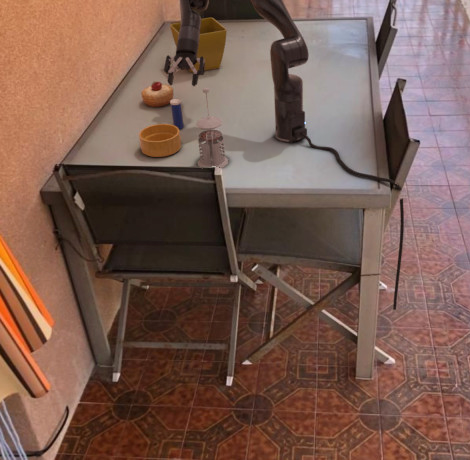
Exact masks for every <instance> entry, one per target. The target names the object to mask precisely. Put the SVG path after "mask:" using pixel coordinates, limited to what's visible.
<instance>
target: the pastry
mask: <svg viewBox="0 0 470 460" xmlns="http://www.w3.org/2000/svg"><path fill="white" fill-rule="evenodd" d="M140 93H141V94H140V95H141V98H142V100H143V102H144V104H145V105H147V106H148V107H152V108H160V107H164V106H167V105H169V104H170V101H171V100H172V99H174V89H173V87H172V85H170V84H167V83H164V84H163V83H162V82H160V81H153V82H152V84H151V85H149V86H148V87H145V88H144V89H142V91H141V92H140Z"/></svg>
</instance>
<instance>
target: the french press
mask: <svg viewBox="0 0 470 460" xmlns="http://www.w3.org/2000/svg"><path fill="white" fill-rule="evenodd" d="M209 92H210V89H209V88H207V87H204V88H203V89H202V93H204V94H205V99H206V108H207V111H209V105H208V104H209V103H208V102H209V101H208V93H209ZM222 124H223V120H222V119H220V118H219V117H217V116H210V115H209V112H207V115H206V116H204V117H201V118H200V119H198V120H197V121H196V122H195V126H196V127H197V128H198V129H200V130H203V131H201V132H200V133H198V139H197V142H198V143H197V144H198V151H199V159H198V161H197V166H198V167H199V168H201V167H212V166H216V167H220V169H222V168H224V167H226V166H227V165H228V163H229V159H228V158H227V157H226V154H225V143H224V137H223V134H222V132H221V131H220V130H217V128H219V127H220V126H221V125H222Z"/></svg>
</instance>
